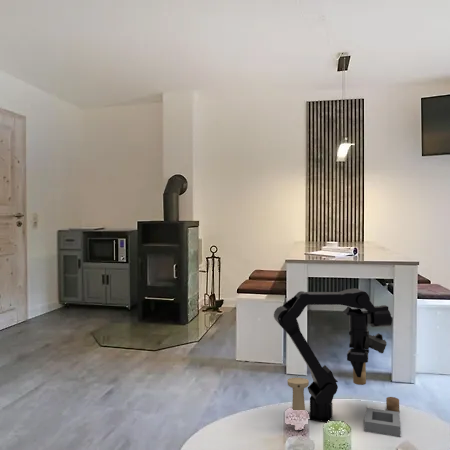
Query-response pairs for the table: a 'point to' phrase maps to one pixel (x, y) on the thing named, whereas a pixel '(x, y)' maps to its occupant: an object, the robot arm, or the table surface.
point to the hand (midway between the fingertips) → (359, 374)
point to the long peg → (361, 379)
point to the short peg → (392, 404)
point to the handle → (298, 392)
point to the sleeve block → (382, 422)
